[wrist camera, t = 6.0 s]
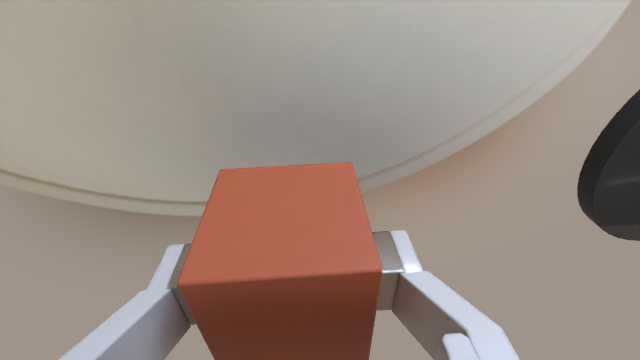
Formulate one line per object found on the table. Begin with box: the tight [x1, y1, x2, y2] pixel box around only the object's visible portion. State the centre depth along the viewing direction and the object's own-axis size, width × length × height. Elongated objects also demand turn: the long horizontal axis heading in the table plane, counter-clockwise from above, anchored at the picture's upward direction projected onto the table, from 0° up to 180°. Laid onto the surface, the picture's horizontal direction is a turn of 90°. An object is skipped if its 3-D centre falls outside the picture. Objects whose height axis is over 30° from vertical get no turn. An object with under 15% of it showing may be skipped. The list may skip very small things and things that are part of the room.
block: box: [177, 162, 383, 360], centre depth 9 cm, size 4×4×4 cm
